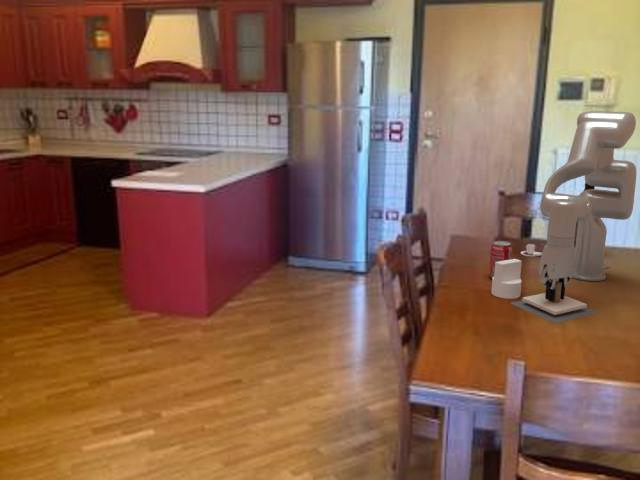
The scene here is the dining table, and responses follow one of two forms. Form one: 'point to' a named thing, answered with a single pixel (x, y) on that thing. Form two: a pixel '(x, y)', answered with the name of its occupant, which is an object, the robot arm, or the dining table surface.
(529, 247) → the teacup and saucer
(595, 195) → the robot arm
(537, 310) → the mat
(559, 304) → the lid
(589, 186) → the whiskey bottle
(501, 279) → the cylinder with rectangular tab
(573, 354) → the dining table surface
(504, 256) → the soda can
